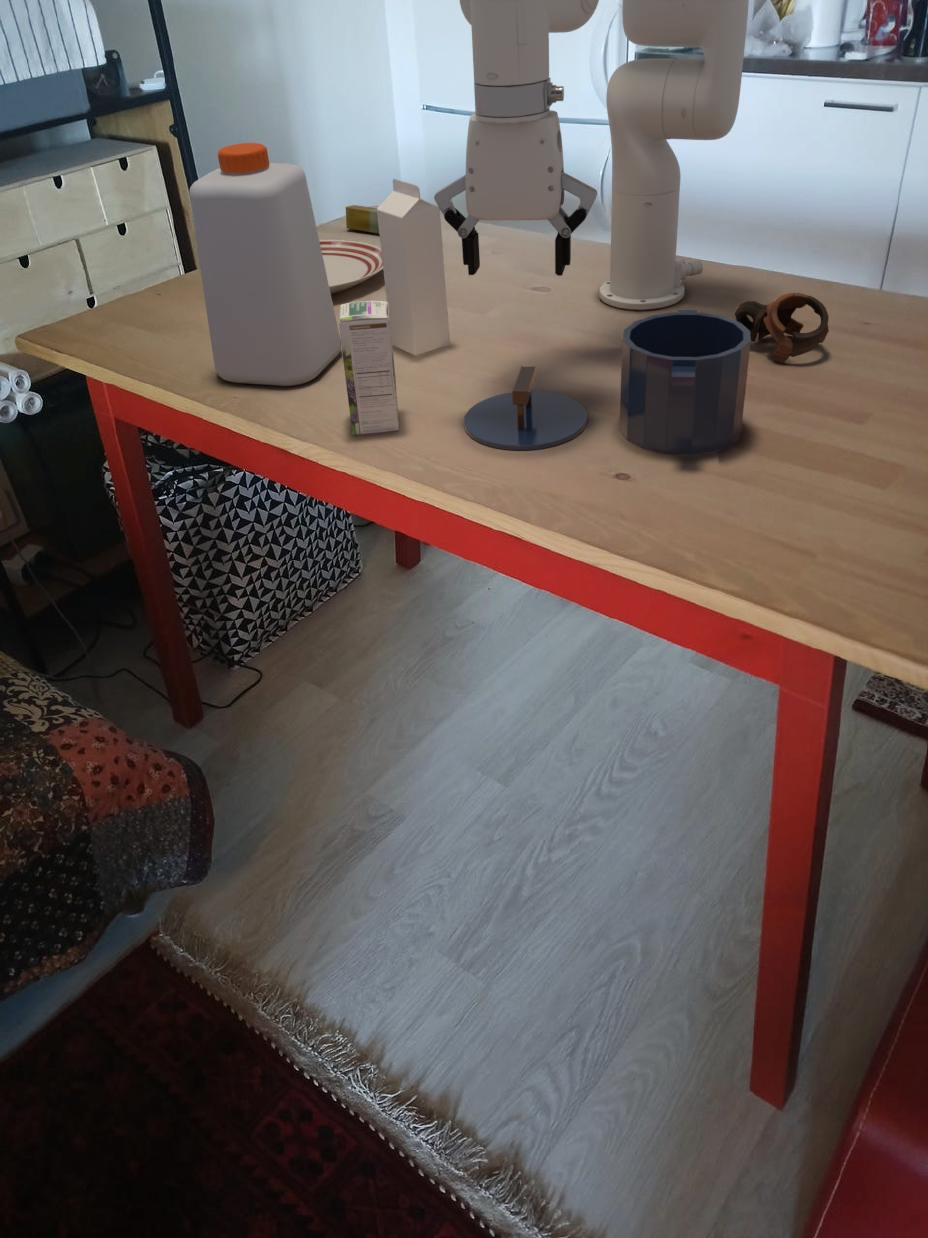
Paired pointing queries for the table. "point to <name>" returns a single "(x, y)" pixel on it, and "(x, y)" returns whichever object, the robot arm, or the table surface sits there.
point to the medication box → (362, 218)
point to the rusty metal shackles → (784, 324)
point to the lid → (525, 417)
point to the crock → (683, 382)
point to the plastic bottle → (262, 270)
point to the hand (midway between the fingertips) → (516, 271)
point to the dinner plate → (349, 262)
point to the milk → (413, 270)
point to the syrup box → (369, 366)
